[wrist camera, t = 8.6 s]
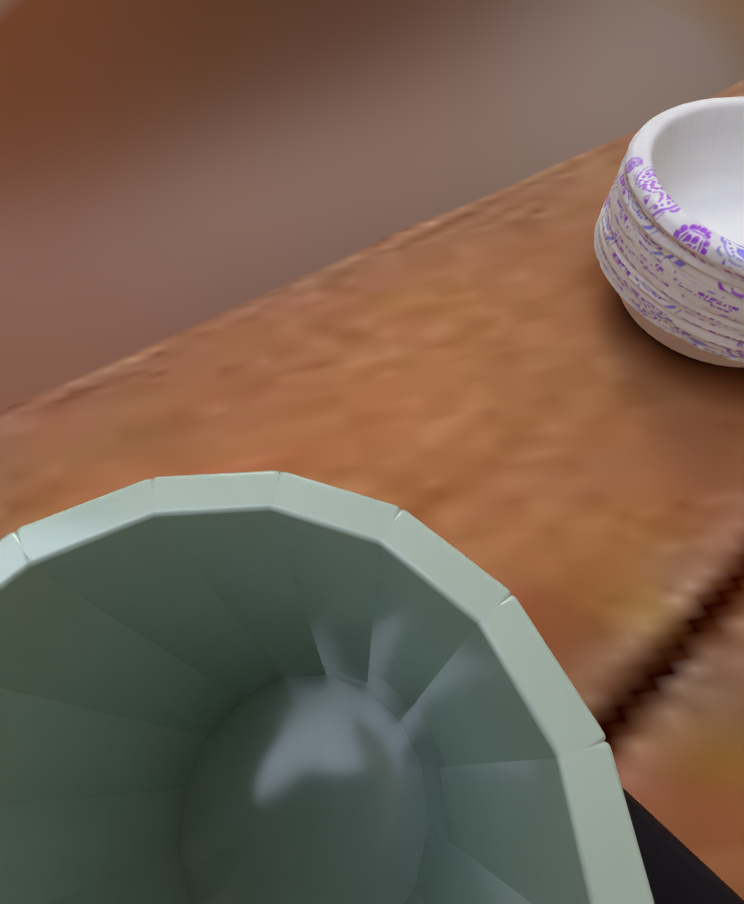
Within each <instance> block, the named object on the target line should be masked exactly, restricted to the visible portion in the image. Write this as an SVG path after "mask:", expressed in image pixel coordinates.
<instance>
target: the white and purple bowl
mask: <svg viewBox="0 0 744 904" xmlns="http://www.w3.org/2000/svg"><path fill="white" fill-rule="evenodd" d="M594 232H595V234H594V249H595V252H596V255H597V259H598V260H599V261H600V267H601V269H602V271H603V273H604V275H605V276H606V277H607V278H608V280H609V282H610V284H611V285H612V286H613V287H614V289H615V290H616V292H617V293H618V294H619V295H620V297H621V299H622V302H623V304H624V306H625V307H626V309H627V311H628V312H629V314H630V315H631V316H632V318H633V319H634V320H635V321H636V322H637V324H638V325H639V326H640V327H641V328H643V329H644V330H645V331H646V332H647V333H648V334H649V335H650V336H652V337H653V338H655V339H656V340H657V341H659V342H660V343H662V344H664V345H665V346H667V347H669V348H670V349H672V350H674V351H676V352H678V353H681V354H683V355H685V356H688V357H690V358H693V359H696V360H699V361H703V362H706V363H711V364H715V365H721V366H727V367H740V368H744V97H728V98H712V99H705V100H698V101H694V102H690V103H686V104H682V105H679V106H676V107H674V108H672V109H668V110H667V111H665V112H663V113H661V114H659V115H657V116H656V117H654V118H652V119H651V120H650V121H648V122H647V123H646V124H645V125H644V126H643V127H642V128H641V129H640V130H639V131H638V132H637V133H636V134H635V136H634V137H633V139H632V140H631V142H630V144H629V148H628V150H627V153H626V155H625V156H624V158H623V160H622V163H621V166H620V168H619V172H618V174H617V176H616V178H615V181H614V184H613V186H612V188H611V190H610V192H609V195H608V196H607V199H606V201H605V203H604V205H603V207H602V209H601V213H600V216H599V218H598V220H597V223H596V225H595V231H594Z"/></svg>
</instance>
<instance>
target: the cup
mask: <svg viewBox="0 0 744 904" xmlns="http://www.w3.org/2000/svg"><path fill="white" fill-rule="evenodd" d="M510 594H511V592H510V591H509V590H508V589H507V588H506V587H505V586H503V585H502V584H501V583H499V582H498V581H497V580H496V579H494V578H493V577H492V576H490V575H489V574H488V573H486V572H485V571H484V570H483V569H481V568H480V567H479V566H477V565H476V564H475V563H473V562H472V561H471V560H470V559H468V558H467V557H466V556H464V555H463V554H462V553H460V552H459V551H458V550H457V549H455V548H454V547H453V546H451V545H450V544H449V543H447V542H446V541H445V540H444V539H442V538H441V537H440V536H438V535H437V534H436V533H434V532H433V531H432V530H431V529H429V528H428V527H427V526H425V525H424V524H423V523H421V522H420V521H419V520H418V519H416V518H415V517H414V516H412V515H411V514H410V513H408V512H407V511H406V510H401V511H400V508H399V507H398V506H396V505H392V504H389V503H386V502H383V501H379V500H376V499H373V498H369V497H366V496H363V495H360V494H356V493H353V492H350V491H347V490H343V489H340V488H337V487H333V486H330V485H327V484H324V483H320V482H317V481H314V480H311V479H307V478H304V477H301V476H297V475H294V474H291V473H288V472H282V473H281V474H280V472H279V471H259V472H240V473H221V474H202V475H183V476H164V477H155V478H154V479H153V480H151V479H146V480H143V481H140V482H138V483H135V484H132V485H130V486H127V487H125V488H122V489H119V490H117V491H114V492H112V493H109V494H106V495H104V496H101V497H98V498H96V499H93V500H91V501H88V502H85V503H83V504H80V505H77V506H75V507H72V508H70V509H67V510H64V511H62V512H59V513H56V514H54V515H51V516H49V517H46V518H43V519H41V520H38V521H36V522H33V523H30V524H28V525H25V526H22V527H20V528H19V529H17V532H12V533H9V534H8V535H6V536H5V537H4V538H2V539H1V540H0V904H655V903H654V900H653V896H652V893H651V889H650V886H649V882H648V878H647V875H646V871H645V868H644V864H643V861H642V857H641V853H640V850H639V846H638V843H637V839H636V835H635V832H634V828H633V825H632V821H631V818H630V814H629V810H628V807H627V803H626V800H625V796H624V793H623V789H622V785H621V782H620V778H619V775H618V771H617V768H616V764H615V760H614V757H613V753H612V750H611V747H610V745H609V744H608V743H607V742H604V741H605V739H606V737H605V734H604V732H603V730H602V729H601V727H600V726H599V724H598V723H597V721H596V720H595V718H594V717H593V715H592V714H591V712H590V710H589V709H588V707H587V706H586V704H585V703H584V701H583V700H582V698H581V697H580V695H579V694H578V692H577V690H576V689H575V687H574V686H573V684H572V683H571V681H570V680H569V678H568V677H567V675H566V674H565V672H564V671H563V669H562V667H561V666H560V664H559V663H558V661H557V660H556V658H555V657H554V655H553V654H552V652H551V651H550V649H549V647H548V646H547V644H546V643H545V641H544V640H543V638H542V637H541V635H540V634H539V632H538V631H537V629H536V627H535V626H534V624H533V623H532V621H531V620H530V618H529V617H528V615H527V614H526V612H525V611H524V609H523V607H522V606H521V604H520V603H519V601H518V600H517V598H516V597H514V596H510Z"/></svg>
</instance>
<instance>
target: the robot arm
mask: <svg viewBox="0 0 744 904" xmlns="http://www.w3.org/2000/svg"><path fill="white" fill-rule="evenodd" d="M622 789H623V793H624V796H625V800H626V803H627V807H628V810H629V814H630V818H631V821H632V825H633V828H634V832H635V835H636V839H637V843H638V846H639V850H640V853H641V857H642V861H643V864H644V868H645V871H646V875H647V878H648V882H649V886H650V889H651V893H652V896H653V900H654V903H655V904H744V900H743V899H742V898H741V897H739V896H738V895H737V894H736V893H735V892H734V891H733V890H732V889H731V888H730V887H729V886H728V885H727V884H726V883H724V882H723V881H722V880H721V879H720V878H719V877H718V876H717V875H716V874H715V873H714V872H713V871H712V870H711V869H709V868H708V867H707V866H706V865H705V864H704V863H703V862H702V861H701V860H700V859H699V858H698V857H697V856H695V855H694V854H693V853H692V852H691V851H690V850H689V849H688V848H687V847H686V846H685V845H684V844H683V843H682V842H680V841H679V840H678V839H677V838H676V837H675V836H674V835H673V834H672V833H671V832H670V831H669V830H668V829H667V828H665V827H664V826H663V825H662V824H661V823H660V822H659V821H658V820H657V819H656V818H655V817H654V816H653V815H651V814H650V813H649V812H648V811H647V810H646V809H645V808H644V807H643V806H642V805H641V804H640V803H639V802H638V801H636V800H635V799H634V798H633V797H632V796H631V795H630V794H629V793H628V792H627V791H626V790H625V789H624V788H622Z"/></svg>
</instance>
